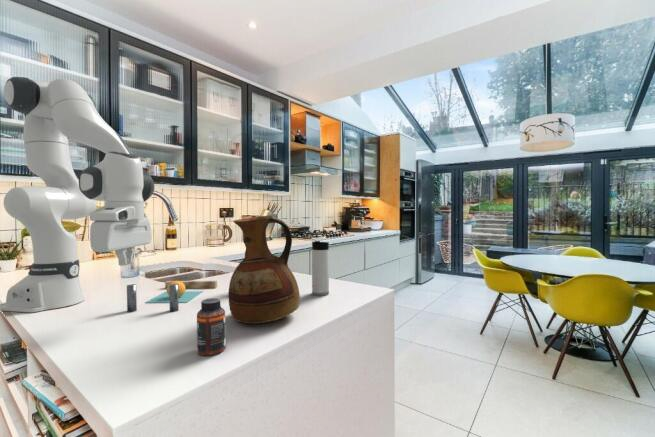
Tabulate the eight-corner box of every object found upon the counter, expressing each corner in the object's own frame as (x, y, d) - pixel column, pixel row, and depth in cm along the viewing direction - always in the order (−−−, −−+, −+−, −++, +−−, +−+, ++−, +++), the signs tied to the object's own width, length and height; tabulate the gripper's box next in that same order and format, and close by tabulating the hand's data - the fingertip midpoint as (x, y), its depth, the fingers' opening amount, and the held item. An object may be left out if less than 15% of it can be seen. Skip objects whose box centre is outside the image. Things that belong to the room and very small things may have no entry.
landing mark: (144, 303, 105) (144, 302, 105) (165, 292, 119) (165, 291, 119) (186, 302, 105) (186, 302, 105) (202, 291, 119) (202, 291, 119)
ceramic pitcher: (225, 311, 95) (224, 214, 95) (288, 304, 103) (288, 214, 102) (232, 335, 77) (231, 215, 77) (309, 323, 85) (308, 215, 84)
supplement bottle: (231, 346, 71) (230, 297, 71) (213, 358, 65) (213, 305, 65) (209, 343, 73) (209, 295, 73) (191, 354, 67) (190, 302, 67)
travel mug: (308, 295, 114) (308, 240, 113) (316, 290, 120) (316, 239, 119) (324, 297, 111) (324, 241, 111) (331, 292, 118) (331, 239, 117)
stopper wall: (165, 288, 124) (165, 282, 124) (167, 287, 126) (167, 281, 126) (215, 288, 124) (215, 281, 124) (217, 286, 126) (217, 280, 126)
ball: (172, 278, 114) (173, 294, 114) (162, 283, 108) (163, 300, 108) (188, 278, 113) (189, 294, 114) (178, 284, 107) (179, 300, 108)
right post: (168, 311, 96) (167, 286, 95) (172, 309, 98) (171, 284, 98) (176, 311, 96) (175, 285, 95) (180, 309, 98) (179, 284, 98)
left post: (125, 312, 95) (124, 286, 95) (130, 309, 98) (129, 284, 98) (133, 312, 95) (133, 286, 95) (138, 309, 98) (137, 284, 98)
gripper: (136, 212, 93) (136, 258, 94) (83, 213, 73) (84, 272, 73) (157, 212, 93) (157, 258, 94) (111, 213, 73) (112, 272, 73)
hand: (125, 264), depth 83 cm, fingers closed
